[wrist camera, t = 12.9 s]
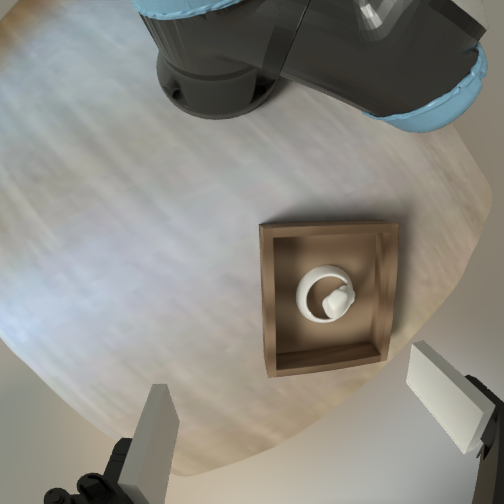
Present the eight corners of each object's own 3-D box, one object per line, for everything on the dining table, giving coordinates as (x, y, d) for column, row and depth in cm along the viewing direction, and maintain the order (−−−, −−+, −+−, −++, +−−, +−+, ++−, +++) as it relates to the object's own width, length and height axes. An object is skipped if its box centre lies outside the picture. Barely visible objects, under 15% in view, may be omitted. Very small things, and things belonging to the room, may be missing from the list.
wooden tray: (258, 224, 36) (263, 228, 31) (379, 220, 37) (398, 223, 32) (264, 357, 39) (268, 377, 34) (372, 344, 40) (386, 360, 35)
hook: (310, 228, 31) (370, 261, 27) (321, 263, 41) (364, 288, 38) (269, 290, 30) (329, 328, 27) (291, 308, 40) (334, 336, 37)
